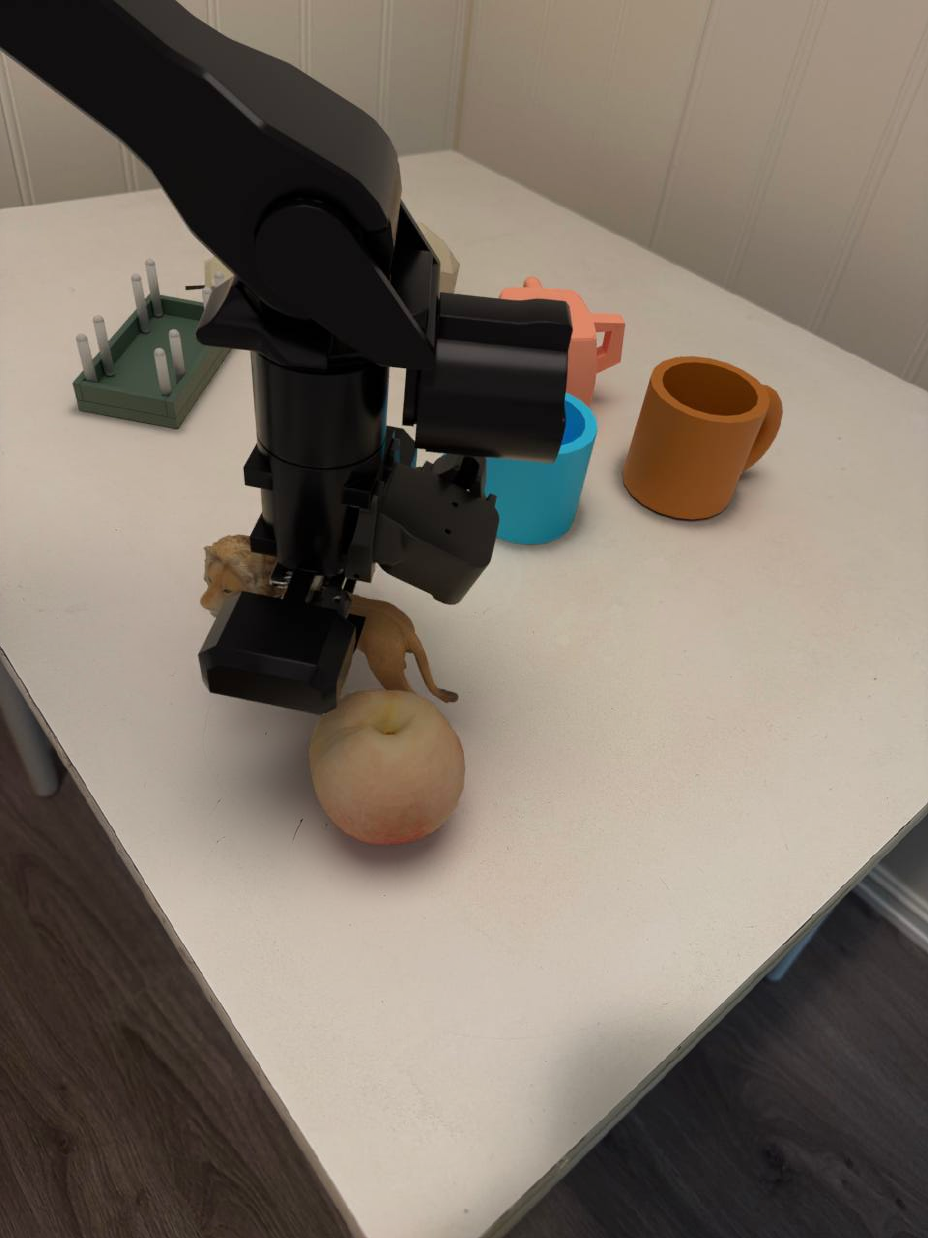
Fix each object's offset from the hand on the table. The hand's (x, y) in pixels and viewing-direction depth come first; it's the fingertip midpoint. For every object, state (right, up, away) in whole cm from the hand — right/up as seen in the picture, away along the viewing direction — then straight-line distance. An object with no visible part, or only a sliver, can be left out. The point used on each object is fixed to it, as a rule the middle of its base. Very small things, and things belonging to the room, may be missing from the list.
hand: (323, 653), depth 51 cm
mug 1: (+11, +10, +16) cm, 21 cm away
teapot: (+13, +21, +27) cm, 37 cm away
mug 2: (+27, +13, +21) cm, 36 cm away
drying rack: (-17, +23, +23) cm, 37 cm away
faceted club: (-5, +31, +33) cm, 45 cm away
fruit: (+4, -8, -2) cm, 9 cm away
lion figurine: (0, -2, +1) cm, 2 cm away
